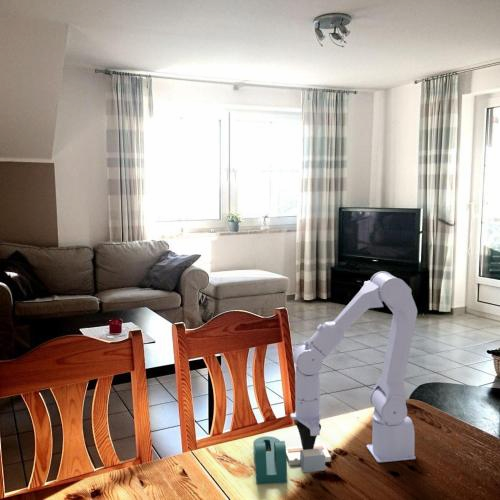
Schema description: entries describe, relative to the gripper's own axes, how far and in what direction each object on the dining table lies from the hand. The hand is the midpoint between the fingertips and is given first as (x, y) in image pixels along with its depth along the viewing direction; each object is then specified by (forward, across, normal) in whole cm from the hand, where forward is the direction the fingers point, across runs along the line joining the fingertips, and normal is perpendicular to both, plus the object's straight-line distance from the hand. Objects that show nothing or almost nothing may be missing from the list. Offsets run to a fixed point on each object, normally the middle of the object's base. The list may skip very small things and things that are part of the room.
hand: (307, 450), depth 130 cm
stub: (+2, +4, 0) cm, 5 cm away
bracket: (+2, 0, -10) cm, 10 cm away
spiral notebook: (+2, -1, 0) cm, 2 cm away
